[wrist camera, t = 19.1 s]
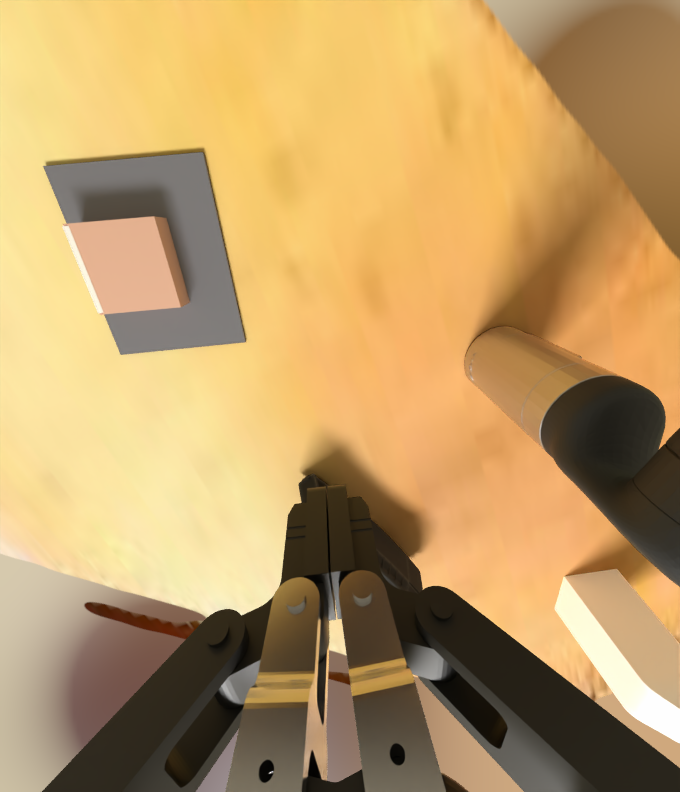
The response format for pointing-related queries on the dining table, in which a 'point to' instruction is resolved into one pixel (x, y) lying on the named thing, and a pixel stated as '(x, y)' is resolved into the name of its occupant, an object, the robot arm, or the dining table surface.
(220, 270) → the mat
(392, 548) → the magazine
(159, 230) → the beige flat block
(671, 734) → the milk
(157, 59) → the dining table surface
